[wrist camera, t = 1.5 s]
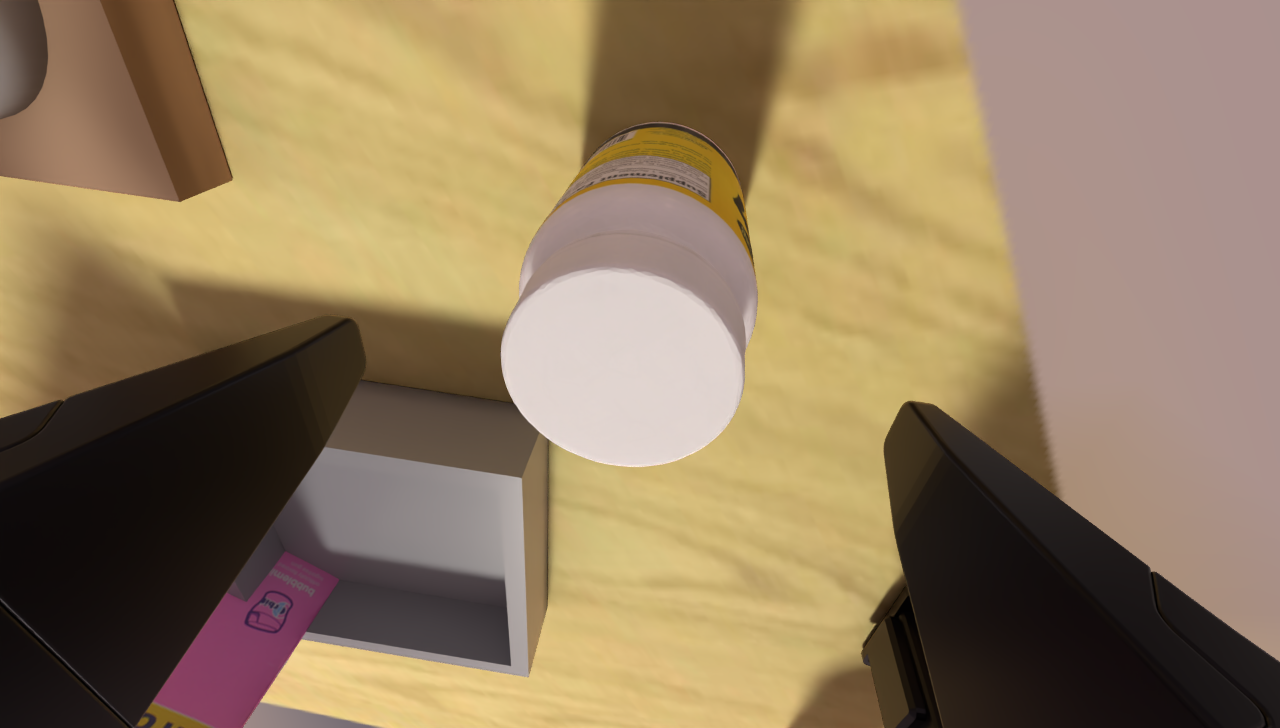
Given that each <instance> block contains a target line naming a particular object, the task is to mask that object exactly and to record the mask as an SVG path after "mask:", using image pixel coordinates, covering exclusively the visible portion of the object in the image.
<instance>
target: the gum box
mask: <svg viewBox="0 0 1280 728" xmlns="http://www.w3.org/2000/svg"><path fill="white" fill-rule="evenodd" d="M338 581H339V579H338V578H336V577H334V576H332V575H331V574H329V573H327V572H325V571H323V570H321V569H319V568H317V567H315V566H313V565H312V564H310V563H308V562H306V561H304V560H302V559H300V558H298V557H296V556H294V555H292V554H290V553H288V552H286V551H285V552H284V554H283V555H282V556H281V558H280V559H279V561H278V562H277V563H276V565H275V566H274V567H273V569H272V570H271V571H270V572H269V574H268V575H267V576H266V578H265V579H264V580H263V581H262V583H261V584H260V585H259V586H258V588H257V589H256V590H255V592H254V593H253V594H252V596H251V597H250V598H249V599H248V601H247V602H245V601H243V600H241V599H239V598H237V597H235V596H233V595H230V594H228V593H226V594H225V596H224V597H223V599H222V600H221V602H220V603H219V605H218V606H217V608H216V609H215V611H214V612H213V614H212V615H211V616H210V618H209V619H208V621H207V622H206V624H205V625H204V627H203V628H202V630H201V631H200V633H199V634H198V636H197V637H196V639H195V640H194V642H193V643H192V645H191V646H190V648H189V649H188V650H187V652H186V653H185V655H184V656H183V658H182V659H181V661H180V662H179V664H178V665H177V667H176V668H175V670H174V671H173V673H172V674H171V676H170V677H169V679H168V680H167V682H166V683H165V684H164V686H163V687H162V689H161V690H160V692H159V693H158V695H157V696H156V698H155V699H154V701H153V702H152V704H151V705H150V707H149V708H148V710H147V711H146V713H145V714H144V715H143V717H142V718H141V720H140V721H139V723H138V724H137V726H136V727H135V728H243V727H244V725H245V724H246V722H247V721H248V719H249V718H250V716H251V715H252V713H253V712H254V710H255V709H256V707H257V705H258V704H259V702H260V701H261V699H262V698H263V696H264V695H265V693H266V692H267V690H268V689H269V687H270V686H271V684H272V683H273V681H274V680H275V678H276V677H277V675H278V674H279V673H280V671H281V670H282V668H283V667H284V665H285V664H286V662H287V661H288V659H289V657H290V656H291V654H292V652H293V651H294V649H295V648H296V646H297V645H298V643H299V642H300V640H301V639H302V637H303V636H304V634H305V633H306V631H307V629H308V628H309V626H310V625H311V623H312V622H313V620H314V619H315V617H316V616H317V614H318V612H319V611H320V609H321V608H322V606H323V605H324V603H325V601H326V600H327V598H328V597H329V595H330V594H331V592H332V591H333V589H334V588H335V586H336V585H337V583H338Z"/></svg>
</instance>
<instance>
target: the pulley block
mask: <svg viewBox="0 0 1280 728" xmlns="http://www.w3.org/2000/svg"><path fill="white" fill-rule="evenodd" d="M0 176H4V177H11V178H18V179H25V180H32V181H39V182H45V183H52V184H59V185H66V186H73V187H80V188H87V189H94V190H101V191H108V192H115V193H122V194H129V195H136V196H143V197H150V198H157V199H164V200H171V201H178V202H181V201H183V200H185V199H188V198H190V197H193V196H195V195H198V194H200V193H202V192H205V191H207V190H210V189H212V188H215V187H217V186H220V185H222V184H224V183H227V182H229V181H232V177H231V174H230V171H229V168H228V165H227V162H226V159H225V156H224V153H223V150H222V147H221V144H220V141H219V138H218V135H217V132H216V129H215V126H214V123H213V120H212V117H211V114H210V111H209V108H208V105H207V102H206V99H205V96H204V93H203V90H202V87H201V84H200V81H199V78H198V75H197V72H196V69H195V66H194V63H193V60H192V57H191V54H190V51H189V48H188V45H187V42H186V39H185V36H184V33H183V30H182V27H181V24H180V21H179V17H178V14H177V11H176V8H175V5H174V2H173V0H0Z"/></svg>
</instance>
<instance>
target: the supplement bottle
mask: <svg viewBox="0 0 1280 728" xmlns="http://www.w3.org/2000/svg"><path fill="white" fill-rule="evenodd" d="M757 304H758V291H757V282H756V275H755V269H754V262H753V254H752V249H751V244H750V237H749V230H748V223H747V216H746V210H745V204H744V199H743V193H742V188H741V185H740V181H739V178H738V175H737V173H736V171H735V169H734V167H733V165H732V163H731V161H730V160H729V158H728V157H727V156H726V154H725V153H724V152H723V151H722V150H721V149H720V148H719V147H718V146H717V145H716V144H715V143H714V142H713V141H712V140H710V139H709V138H708V137H706V136H705V135H703V134H702V133H700V132H698V131H696V130H694V129H692V128H689V127H687V126H683V125H680V124H675V123H669V122H648V123H643V124H639V125H635V126H632V127H629V128H626V129H624V130H622V131H620V132H618V133H616V134H615V135H613V136H612V137H610V138H609V139H608V140H606V141H605V142H604V143H603V144H602V145H601V146H600V147H599V148H598V149H597V150H596V151H595V152H594V153H593V154H592V156H591V157H590V158H589V159H588V161H587V162H586V164H585V165H584V167H583V168H582V169H581V171H580V172H579V174H578V175H577V176H576V178H575V179H574V180H573V182H572V183H571V185H570V186H569V188H568V189H567V190H566V192H565V193H564V195H563V196H562V197H561V199H560V200H559V201H558V203H557V204H556V206H555V207H554V209H553V210H552V211H551V213H550V214H549V215H548V217H547V218H546V220H545V221H544V222H543V224H542V225H541V227H540V228H539V230H538V231H537V233H536V234H535V236H534V238H533V239H532V241H531V243H530V245H529V248H528V250H527V252H526V255H525V258H524V261H523V265H522V269H521V274H520V282H519V300H518V302H517V304H516V306H515V308H514V309H513V311H512V313H511V315H510V317H509V319H508V322H507V324H506V327H505V330H504V333H503V337H502V343H501V366H502V372H503V377H504V380H505V384H506V387H507V389H508V392H509V394H510V396H511V398H512V400H513V401H514V403H515V405H516V406H517V407H518V409H519V410H520V412H521V413H522V415H523V416H524V417H525V418H526V419H527V421H528V422H529V423H530V424H532V425H533V426H534V427H535V428H536V429H537V430H538V431H539V432H540V433H541V434H542V435H544V436H545V437H546V438H547V439H549V440H550V441H552V442H553V443H555V444H556V445H558V446H560V447H561V448H563V449H565V450H567V451H569V452H571V453H574V454H576V455H579V456H581V457H584V458H586V459H589V460H593V461H596V462H600V463H605V464H610V465H617V466H626V467H645V466H653V465H661V464H665V463H669V462H673V461H676V460H679V459H682V458H684V457H686V456H688V455H690V454H693V453H695V452H696V451H698V450H700V449H702V448H703V447H705V446H706V445H708V444H709V443H710V442H711V441H713V440H714V439H715V438H716V437H717V436H718V435H719V434H720V433H721V432H722V431H723V430H724V429H725V427H726V426H727V425H728V424H729V422H730V421H731V419H732V417H733V416H734V414H735V412H736V410H737V408H738V406H739V403H740V400H741V397H742V394H743V388H744V381H745V350H746V348H747V346H748V343H749V341H750V339H751V336H752V333H753V329H754V326H755V320H756V314H757Z"/></svg>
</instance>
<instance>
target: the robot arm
mask: <svg viewBox="0 0 1280 728" xmlns="http://www.w3.org/2000/svg"><path fill="white" fill-rule="evenodd" d="M365 368H366V356H365V352H364V347H363V343H362V339H361V335H360V330H359V327H358V324H357V322H356V321H355V320H354V319H353V318H351V317H345V316H338V315H331V314H330V315H324V316H321V317H317V318H314V319H311V320H308V321H305V322H302V323H299V324H296V325H292V326H289V327H286V328H283V329H280V330H277V331H274V332H271V333H267V334H264V335H261V336H258V337H255V338H252V339H249V340H246V341H242V342H239V343H236V344H233V345H230V346H227V347H224V348H221V349H217V350H214V351H211V352H208V353H205V354H202V355H199V356H196V357H192V358H189V359H186V360H183V361H180V362H177V363H174V364H171V365H167V366H164V367H161V368H158V369H155V370H152V371H149V372H145V373H142V374H139V375H136V376H133V377H130V378H127V379H124V380H120V381H117V382H114V383H111V384H108V385H105V386H102V387H99V388H95V389H92V390H89V391H86V392H83V393H80V394H77V395H74V396H70V397H68V398H67V399H66V400H65V401H63V400H58V401H54V402H51V403H48V404H45V405H42V406H39V407H36V408H33V409H29V410H26V411H23V412H20V413H17V414H13V415H10V416H7V417H4V418H0V728H135V727H136V726H137V724H138V723H139V721H140V720H141V718H142V717H143V715H144V714H145V713H146V711H147V710H148V708H149V707H150V705H151V704H152V702H153V701H154V699H155V698H156V696H157V695H158V693H159V692H160V690H161V689H162V687H163V686H164V684H165V683H166V682H167V680H168V679H169V677H170V676H171V674H172V673H173V671H174V670H175V668H176V667H177V665H178V664H179V662H180V661H181V659H182V658H183V656H184V655H185V653H186V652H187V650H188V649H189V648H190V646H191V645H192V643H193V642H194V640H195V639H196V637H197V636H198V634H199V633H200V631H201V630H202V628H203V627H204V625H205V624H206V622H207V621H208V619H209V618H210V616H211V615H212V614H213V612H214V611H215V609H216V608H217V606H218V605H219V603H220V602H221V600H222V599H223V597H224V596H225V594H226V593H227V591H228V590H229V588H230V587H231V585H232V584H233V583H234V581H235V580H236V578H237V577H238V575H239V574H240V572H241V571H242V569H243V568H244V566H245V565H246V563H247V562H248V560H249V559H250V557H251V556H252V554H253V553H254V551H255V550H256V549H257V547H258V546H259V544H260V543H261V541H262V540H263V538H264V537H265V535H266V534H267V532H268V531H269V529H270V528H271V526H272V525H273V523H274V522H275V520H276V519H277V517H278V516H279V515H280V513H281V512H282V510H283V509H284V507H285V506H286V504H287V503H288V501H289V500H290V498H291V497H292V495H293V494H294V492H295V491H296V489H297V488H298V486H299V485H300V484H301V482H302V481H303V479H304V478H305V476H306V475H307V473H308V472H309V470H310V469H311V467H312V466H313V464H314V463H315V461H316V460H317V458H318V457H319V455H320V454H321V452H322V451H323V449H324V447H325V446H326V444H327V442H328V441H329V439H330V437H331V435H332V433H333V432H334V430H335V428H336V426H337V424H338V422H339V420H340V418H341V416H342V414H343V412H344V411H345V409H346V407H347V405H348V403H349V401H350V399H351V397H352V395H353V393H354V391H355V389H356V388H357V386H358V384H359V382H360V380H361V378H362V376H363V374H364V372H365ZM884 459H885V467H886V474H887V482H888V490H889V498H890V506H891V514H892V521H893V528H894V534H895V539H896V543H897V548H898V552H899V556H900V560H901V564H902V568H903V572H904V576H905V579H906V583H907V587H905V588H904V590H903V591H902V593H901V594H900V596H899V597H898V599H897V600H896V602H895V603H894V604H893V606H892V607H891V609H890V610H889V612H888V613H887V615H886V616H885V618H884V619H883V621H882V622H881V624H880V625H879V627H878V628H877V630H876V631H875V633H874V634H873V635H872V637H871V638H870V640H869V641H868V643H867V644H866V646H865V647H864V649H863V650H862V652H861V654H862V659H863V662H864V664H866V665H868V666H870V667H871V671H872V675H873V680H874V684H875V688H876V693H877V697H878V701H879V706H880V710H881V714H882V719H883V723H884V727H885V728H1280V662H1279V661H1278V660H1276V659H1275V658H1274V657H1272V656H1270V655H1269V654H1268V653H1266V652H1265V651H1264V650H1262V649H1261V648H1259V647H1258V646H1256V645H1255V644H1254V643H1252V642H1251V641H1249V640H1248V639H1246V638H1245V637H1244V636H1242V635H1241V634H1239V633H1238V632H1237V631H1235V630H1234V629H1232V628H1231V627H1230V626H1228V625H1227V624H1226V623H1224V622H1223V621H1222V620H1220V619H1219V618H1217V617H1216V616H1215V615H1213V614H1212V613H1211V612H1209V611H1208V610H1206V609H1205V608H1204V607H1202V606H1201V605H1200V604H1198V603H1197V602H1196V601H1194V600H1193V599H1191V598H1190V597H1189V596H1188V595H1186V594H1185V593H1184V592H1182V591H1181V590H1179V589H1178V588H1177V587H1176V586H1174V585H1173V584H1172V583H1170V582H1169V581H1168V580H1166V579H1165V578H1164V577H1162V576H1161V575H1160V574H1158V573H1157V572H1151V570H1150V567H1149V566H1148V565H1146V564H1145V563H1144V562H1142V561H1141V560H1140V559H1138V558H1137V557H1136V556H1134V555H1133V554H1132V553H1130V552H1129V551H1128V550H1126V549H1125V548H1124V547H1122V546H1121V545H1120V544H1118V543H1117V542H1116V541H1114V540H1113V539H1112V538H1110V537H1109V536H1108V535H1106V534H1105V533H1104V532H1103V531H1101V530H1100V529H1099V528H1097V527H1096V526H1095V525H1093V524H1092V523H1091V522H1089V521H1088V520H1087V519H1085V518H1084V517H1083V516H1081V515H1080V514H1079V513H1077V512H1076V511H1075V510H1073V509H1072V508H1071V507H1069V506H1068V505H1067V504H1065V503H1064V502H1063V501H1061V500H1060V499H1059V498H1057V497H1056V496H1055V495H1053V494H1052V493H1051V492H1049V491H1048V490H1047V489H1046V488H1044V487H1043V486H1042V485H1040V484H1039V483H1038V482H1036V481H1035V480H1034V479H1032V478H1031V477H1030V476H1028V475H1027V474H1026V473H1024V472H1023V471H1022V470H1020V469H1019V468H1018V467H1016V466H1015V465H1014V464H1012V463H1011V462H1010V461H1008V460H1007V459H1006V458H1004V457H1003V456H1002V455H1000V454H999V453H998V452H996V451H995V450H994V449H992V448H991V447H990V446H989V445H987V444H986V443H985V442H983V441H982V440H981V439H979V438H978V437H977V436H975V435H974V434H973V433H971V432H970V431H969V430H967V429H966V428H965V427H963V426H962V425H961V424H959V423H958V422H957V421H955V420H954V419H953V418H951V417H950V416H949V415H947V414H946V413H945V412H943V411H942V410H941V409H939V408H938V407H937V406H935V405H933V404H930V403H923V402H916V401H908V402H905V403H904V404H903V405H902V407H901V408H900V410H899V412H898V414H897V416H896V418H895V420H894V422H893V424H892V426H891V428H890V430H889V432H888V434H887V436H886V439H885V442H884Z"/></svg>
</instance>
